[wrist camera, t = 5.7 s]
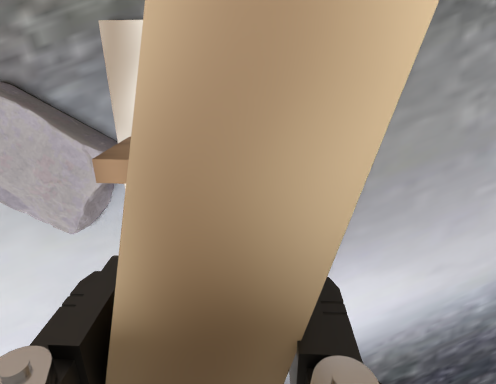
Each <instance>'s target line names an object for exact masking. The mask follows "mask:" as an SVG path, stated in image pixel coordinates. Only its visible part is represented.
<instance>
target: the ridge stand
mask: <svg viewBox="0 0 496 384" xmlns="http://www.w3.org/2000/svg"><path fill="white" fill-rule="evenodd" d="M99 27H100V33H101V39H102V46H103V52H104V58H105V65H106V71H107V77H108V83H109V90H110V96H111V102H112V109H113V115H114V121H115V128H116V134H117V140H118V144H116V145H115V146H113V147H111V148H110V149H108V150H106V151H105V152H103V153H101V154H100V155H98V156H96V157H95V158H93V159H92V163H93V168H94V173H95V178H96V183H119V184H125V190H126V181H127V171H128V161H129V152H130V142H131V133H132V123H133V113H134V104H135V94H136V84H137V75H138V65H139V56H140V46H141V36H142V27H143V20H99Z"/></svg>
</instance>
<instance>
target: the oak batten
mask: <svg viewBox="0 0 496 384" xmlns="http://www.w3.org/2000/svg"><path fill="white" fill-rule="evenodd" d="M438 2H439V0H145V7H144V17H143V27H142V36H141V46H140V56H139V65H138V75H137V84H136V94H135V104H134V113H133V123H132V133H131V142H130V152H129V161H128V171H127V181H126V190H125V200H124V210H123V219H122V229H121V239H120V248H119V258H118V267H117V277H116V287H115V296H114V306H113V316H112V325H111V335H110V345H109V354H108V364H107V373H106V383H105V384H284V382H285V379H286V377H287V374H288V372H289V369H290V367H291V364H292V362H293V359H294V357H295V354H296V351H297V341H301V340H302V337H303V335H304V332H305V330H306V327H307V325H308V322H309V320H310V318H311V315H312V313H313V310H314V308H315V305H316V303H317V300H318V298H319V295H320V293H321V290H322V288H323V285H324V283H325V281H326V278H327V276H328V273H329V271H330V268H331V266H332V263H333V261H334V258H335V256H336V253H337V251H338V248H339V246H340V244H341V241H342V239H343V236H344V234H345V231H346V229H347V226H348V224H349V221H350V219H351V216H352V214H353V212H354V209H355V207H356V204H357V202H358V199H359V197H360V194H361V192H362V189H363V187H364V184H365V182H366V179H367V177H368V175H369V172H370V170H371V167H372V165H373V162H374V160H375V157H376V155H377V152H378V150H379V147H380V145H381V142H382V140H383V138H384V135H385V133H386V130H387V128H388V125H389V123H390V120H391V118H392V115H393V113H394V110H395V108H396V106H397V103H398V101H399V98H400V96H401V93H402V91H403V88H404V86H405V83H406V81H407V78H408V76H409V73H410V71H411V69H412V66H413V64H414V61H415V59H416V56H417V54H418V51H419V49H420V46H421V44H422V41H423V39H424V36H425V34H426V32H427V29H428V27H429V24H430V22H431V19H432V17H433V14H434V12H435V9H436V7H437V4H438Z"/></svg>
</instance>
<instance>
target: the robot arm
mask: <svg viewBox="0 0 496 384" xmlns="http://www.w3.org/2000/svg"><path fill="white" fill-rule="evenodd" d="M118 258H119V256H112V257H111V258H110V260H109V261H108V262H107V264H106V265H105V267H104V268H103V269H102V271H94V272H93V273H92V274H90V275H89V276H87V277H86V278H84V279H83V280H82V281H80V282H79V283H78V285H77V286H76V287H75V288H74V290H73V291H72V292H71V294H70V296H68V297H67V299H66V300H65V301H64V302H63V304H62V307H59V309H58V310H57V311H56V313H55V314H54V315H53V316H52V318H51V319H50V320H49V321H48V323H47V324H46V325H45V327H44V328H43V329H42V330H41V332H40V333H39V334H38V335H37V337H36V338H35V339H34V340H33V342H32V343H31V344H30V346H26V347H22V348H18V349H15V350H13V351H11V352H8V353H6V354H5V355H3V356H1V357H0V384H105V383H106V373H107V364H108V354H109V345H110V335H111V325H112V316H113V306H114V296H115V287H116V277H117V267H118ZM289 375H290V384H381V383H380V382H379V381H378V380H377V378H376V377H375V375H374V374H373V372H372V371H371V370H370V369H369V368H368V367H366V366H365V365H364V364H363V362H362V359H361V356H360V353H359V350H358V346H357V343H356V340H355V337H354V334H353V331H352V327H351V324H350V321H349V318H348V316H347V312H346V308H345V305H344V304H343V299H342V296H341V293H340V289H339V288H338V287H337V286H336V284H335V283H334V282H333V281H332V280H331V279H330V278H329V277H327V278H326V281H325V283H324V285H323V288H322V290H321V293H320V295H319V298H318V300H317V303H316V305H315V308H314V310H313V313H312V315H311V318H310V320H309V322H308V325H307V327H306V330H305V332H304V335H303V337H302V340H301V341H297V351H296V354H295V357H294V359H293V362H292V364H291V367H290V369H289Z"/></svg>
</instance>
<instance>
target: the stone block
mask: <svg viewBox="0 0 496 384" xmlns="http://www.w3.org/2000/svg"><path fill="white" fill-rule="evenodd" d="M116 144H118V142H116V141H115V140H113V139H111V138H109V137H107V136H105V135H104V134H102V133H100V132H98V131H96V130H94V129H92V128H90V127H88V126H87V125H85V124H83V123H81V122H79V121H77V120H75V119H74V118H72V117H70V116H68V115H66V114H64V113H62V112H61V111H59V110H57V109H55V108H53V107H51V106H49V105H48V104H45V103H43V102H42V101H40V100H39V99H37V98H35V97H33V96H31V95H29V94H28V93H26V92H24V91H22V90H20V89H18V88H16V87H15V86H13V85H10V84H7V83H3V82H0V202H1V203H3V204H5V205H6V206H8V207H10V208H13V209H15V210H17V211H20V212H23V213H28V214H29V215H30V216H32V217H34V218H35V219H37V220H40V221H42V222H45V223H49V224H51V225H53V227H55V228H58V229H60V230H62V231H65V232H67V233H70V234H74V233H77V232H79V231H81V230H83V229H85V228H86V227H88V226H90V225H91V224H92V223H93V222H94V221H95V220H96V219H97V218H98V217H99V216H100V215H101V213H102V211H103V210H104V209H105V208H106V207H107V206H108V204H109V203H110V201H111V200H110V199H111V194H112V190H113V189H114V185H113V183H96V178H95V173H94V168H93V163H92V159H93V158H95V157H96V156H98V155H100V154H101V153H103V152H105V151H106V150H108V149H110V148H111V147H113V146H115V145H116Z"/></svg>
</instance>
